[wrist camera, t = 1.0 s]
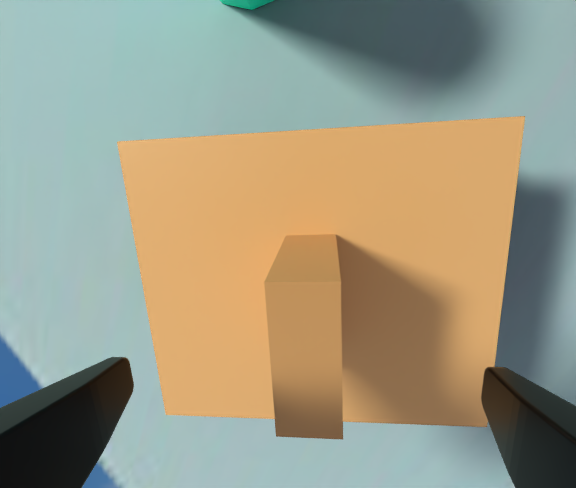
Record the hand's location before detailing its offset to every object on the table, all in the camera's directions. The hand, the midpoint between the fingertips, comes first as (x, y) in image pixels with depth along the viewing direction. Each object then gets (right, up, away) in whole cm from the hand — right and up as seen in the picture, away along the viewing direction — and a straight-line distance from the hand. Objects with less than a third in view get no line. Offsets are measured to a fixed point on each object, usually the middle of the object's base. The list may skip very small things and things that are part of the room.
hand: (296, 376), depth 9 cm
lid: (+1, +2, +8) cm, 8 cm away
